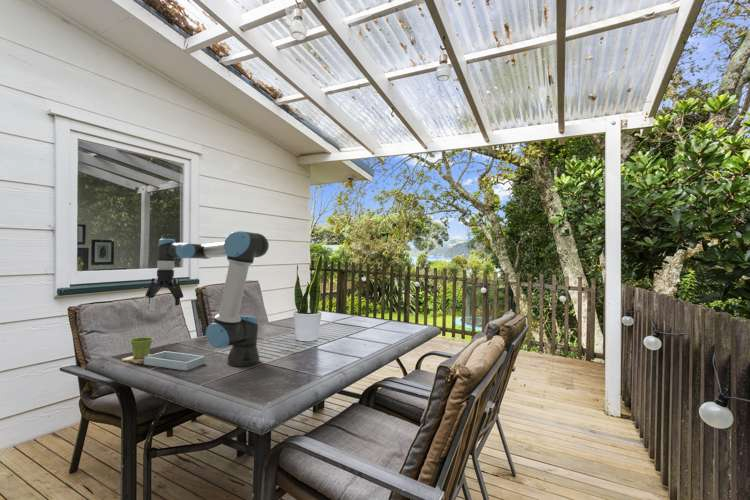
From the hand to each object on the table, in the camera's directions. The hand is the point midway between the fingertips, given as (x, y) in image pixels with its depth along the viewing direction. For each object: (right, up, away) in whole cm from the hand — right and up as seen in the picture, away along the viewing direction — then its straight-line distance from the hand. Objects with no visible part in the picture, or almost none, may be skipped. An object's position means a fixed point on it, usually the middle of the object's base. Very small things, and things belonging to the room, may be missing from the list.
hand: (163, 311), depth 186 cm
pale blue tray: (+12, -23, -11) cm, 28 cm away
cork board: (-7, -22, -7) cm, 24 cm away
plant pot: (-7, -22, -7) cm, 24 cm away
